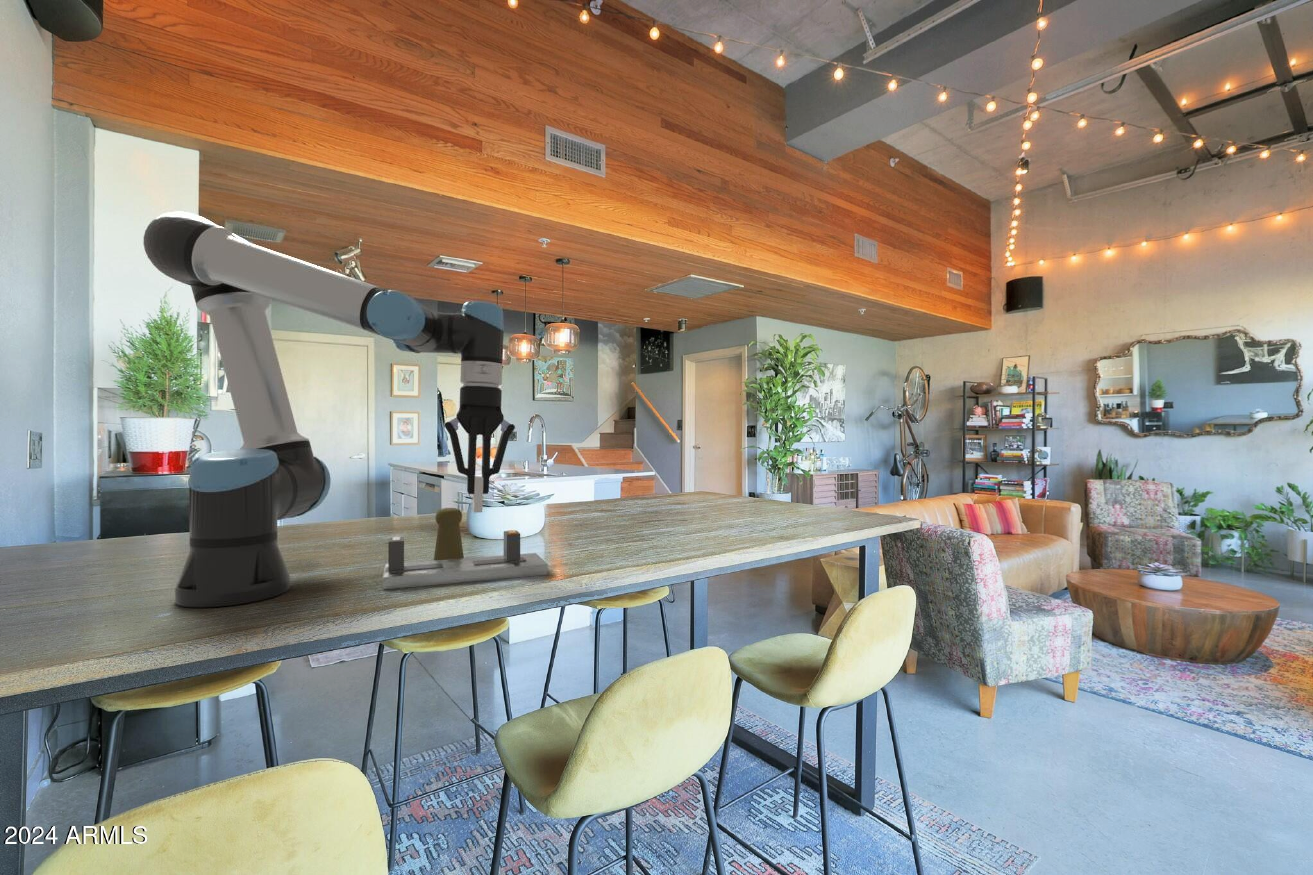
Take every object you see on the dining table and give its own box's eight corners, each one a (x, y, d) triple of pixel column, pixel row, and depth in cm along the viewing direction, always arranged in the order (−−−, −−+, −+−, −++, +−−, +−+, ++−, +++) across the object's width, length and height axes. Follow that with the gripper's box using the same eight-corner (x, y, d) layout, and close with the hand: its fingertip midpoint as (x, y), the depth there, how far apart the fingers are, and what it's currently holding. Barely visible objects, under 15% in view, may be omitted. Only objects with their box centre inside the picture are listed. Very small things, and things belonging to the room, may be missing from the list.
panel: (382, 589, 99) (382, 576, 99) (385, 575, 109) (385, 563, 109) (547, 574, 110) (547, 562, 110) (535, 562, 120) (535, 551, 120)
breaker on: (388, 570, 103) (388, 540, 103) (389, 565, 106) (389, 537, 106) (403, 569, 104) (404, 539, 104) (404, 564, 107) (404, 536, 107)
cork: (454, 565, 118) (454, 510, 118) (427, 564, 119) (427, 509, 119) (469, 559, 123) (469, 506, 123) (443, 557, 125) (443, 506, 125)
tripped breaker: (506, 561, 111) (506, 533, 111) (503, 556, 114) (503, 530, 114) (520, 559, 112) (520, 532, 112) (516, 555, 115) (516, 529, 115)
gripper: (445, 382, 105) (441, 515, 105) (519, 387, 110) (515, 513, 110) (443, 385, 111) (439, 509, 111) (513, 389, 117) (509, 508, 117)
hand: (477, 511), depth 111 cm, fingers closed
